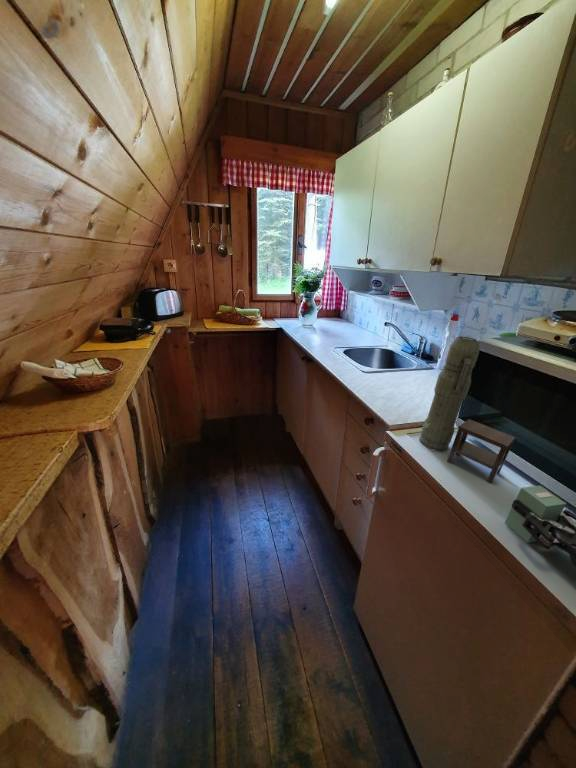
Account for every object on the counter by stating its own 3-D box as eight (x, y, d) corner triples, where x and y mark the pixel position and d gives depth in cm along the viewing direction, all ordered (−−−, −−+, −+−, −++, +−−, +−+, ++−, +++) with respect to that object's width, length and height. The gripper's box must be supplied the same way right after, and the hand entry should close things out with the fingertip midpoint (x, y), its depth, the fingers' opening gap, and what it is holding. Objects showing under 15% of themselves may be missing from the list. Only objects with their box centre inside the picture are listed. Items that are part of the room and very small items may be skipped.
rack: (499, 472, 88) (515, 437, 84) (491, 483, 83) (507, 446, 78) (456, 452, 96) (468, 419, 91) (446, 461, 91) (459, 426, 86)
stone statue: (440, 435, 105) (473, 335, 92) (454, 455, 94) (494, 345, 81) (414, 432, 105) (443, 332, 93) (425, 451, 94) (461, 341, 82)
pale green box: (522, 519, 71) (540, 484, 67) (546, 539, 66) (566, 502, 62) (504, 522, 70) (521, 486, 66) (527, 543, 65) (547, 505, 61)
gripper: (654, 550, 53) (554, 484, 69) (597, 563, 50) (505, 490, 65) (631, 579, 56) (541, 510, 71) (576, 594, 52) (493, 517, 67)
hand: (524, 501), depth 68 cm, fingers closed on pale green box, 5 cm apart
